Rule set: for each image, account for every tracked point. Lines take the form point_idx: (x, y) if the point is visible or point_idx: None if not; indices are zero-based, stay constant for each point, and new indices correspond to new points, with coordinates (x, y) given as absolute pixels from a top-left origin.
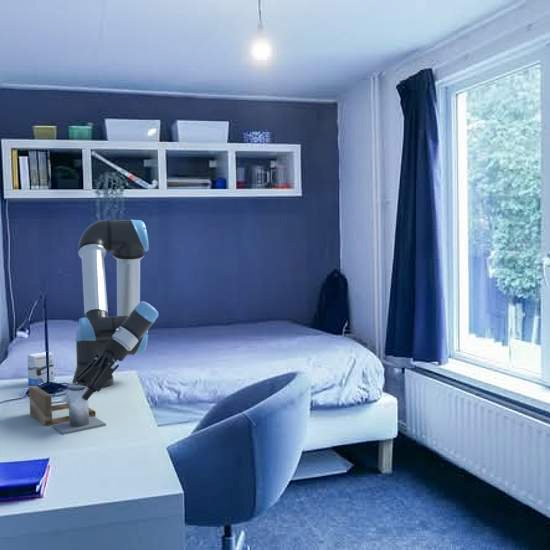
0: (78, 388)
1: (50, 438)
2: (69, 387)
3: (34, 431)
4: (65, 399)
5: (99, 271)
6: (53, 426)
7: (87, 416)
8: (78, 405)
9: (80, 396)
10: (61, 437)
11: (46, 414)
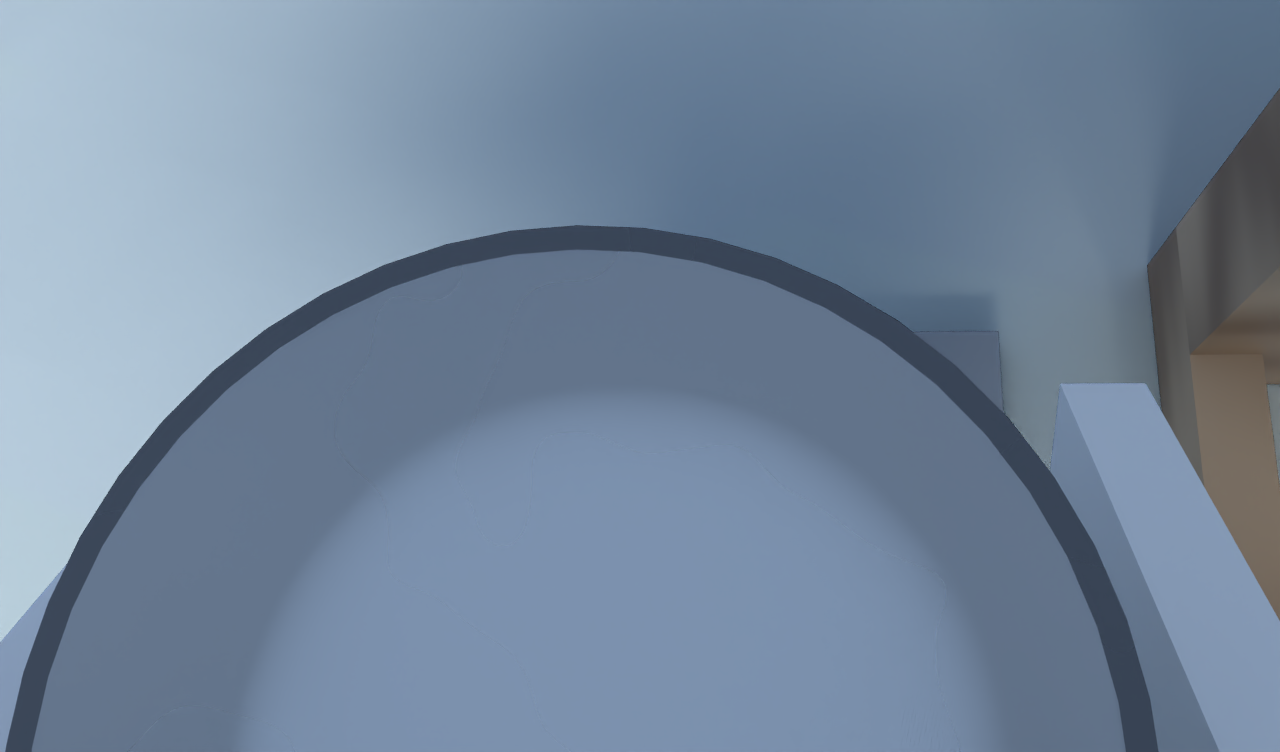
0: (98, 596)
1: (398, 142)
2: (440, 254)
3: (933, 43)
4: (1064, 466)
5: None
6: (951, 338)
7: None
8: None
9: (40, 617)
10: (319, 285)
11: (1222, 191)
